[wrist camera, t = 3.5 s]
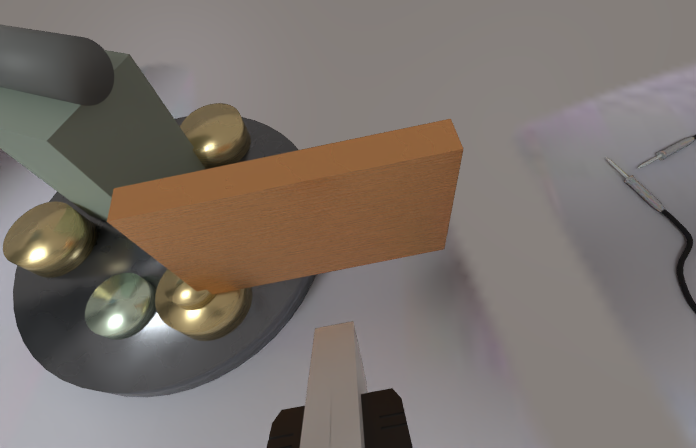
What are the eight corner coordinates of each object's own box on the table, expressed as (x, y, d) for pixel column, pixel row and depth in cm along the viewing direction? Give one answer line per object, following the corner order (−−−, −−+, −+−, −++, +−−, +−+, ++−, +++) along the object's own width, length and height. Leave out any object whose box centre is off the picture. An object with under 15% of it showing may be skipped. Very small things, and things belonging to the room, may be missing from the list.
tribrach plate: (-24, 328, 25) (-91, 309, 22) (153, 114, 34) (125, 76, 31) (233, 458, 19) (196, 460, 16) (366, 160, 28) (361, 120, 25)
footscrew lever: (171, 348, 20) (16, 278, 12) (178, 272, 23) (50, 170, 14) (448, 294, 20) (478, 185, 12) (426, 223, 22) (438, 90, 14)
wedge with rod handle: (78, 212, 27) (-121, 64, 16) (131, 147, 29) (-13, -13, 19) (170, 242, 24) (5, 93, 14) (219, 169, 27) (107, 0, 17)
